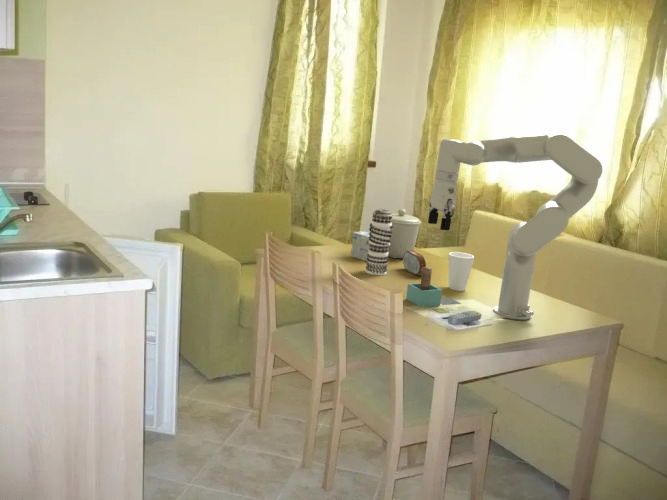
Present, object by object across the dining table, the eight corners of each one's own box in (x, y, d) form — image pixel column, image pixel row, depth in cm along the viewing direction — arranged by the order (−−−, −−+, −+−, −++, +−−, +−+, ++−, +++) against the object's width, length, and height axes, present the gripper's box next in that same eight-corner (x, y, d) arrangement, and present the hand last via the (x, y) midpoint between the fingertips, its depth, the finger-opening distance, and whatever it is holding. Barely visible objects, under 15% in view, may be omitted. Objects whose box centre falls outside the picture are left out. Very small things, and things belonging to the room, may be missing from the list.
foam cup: (469, 293, 258) (474, 259, 255) (444, 289, 259) (448, 255, 257) (469, 287, 267) (474, 254, 264) (445, 283, 268) (449, 250, 266)
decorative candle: (375, 268, 282) (381, 207, 276) (392, 274, 275) (399, 211, 270) (359, 270, 275) (366, 208, 270) (377, 276, 269) (384, 212, 263)
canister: (397, 262, 296) (403, 213, 291) (367, 252, 308) (373, 206, 304) (425, 258, 308) (431, 212, 303) (395, 249, 321) (400, 204, 316)
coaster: (461, 305, 241) (461, 303, 241) (442, 306, 238) (442, 304, 237) (448, 298, 248) (448, 296, 248) (429, 299, 244) (429, 297, 244)
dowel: (429, 303, 238) (433, 269, 235) (421, 303, 236) (426, 269, 234) (424, 300, 241) (428, 266, 238) (416, 300, 239) (420, 267, 236)
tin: (425, 277, 275) (427, 257, 273) (418, 277, 273) (420, 257, 272) (407, 267, 288) (410, 248, 286) (400, 267, 287) (403, 248, 285)
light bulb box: (379, 260, 296) (381, 235, 294) (368, 262, 291) (370, 236, 289) (361, 254, 303) (363, 230, 301) (350, 256, 299) (352, 231, 296)
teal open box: (439, 306, 237) (442, 289, 236) (419, 308, 233) (421, 290, 232) (426, 299, 244) (428, 283, 243) (405, 300, 240) (407, 283, 239)
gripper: (468, 181, 225) (459, 233, 229) (445, 173, 241) (437, 222, 245) (447, 179, 223) (439, 231, 227) (425, 171, 239) (418, 220, 243)
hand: (438, 226), depth 236 cm, fingers open, 9 cm apart
